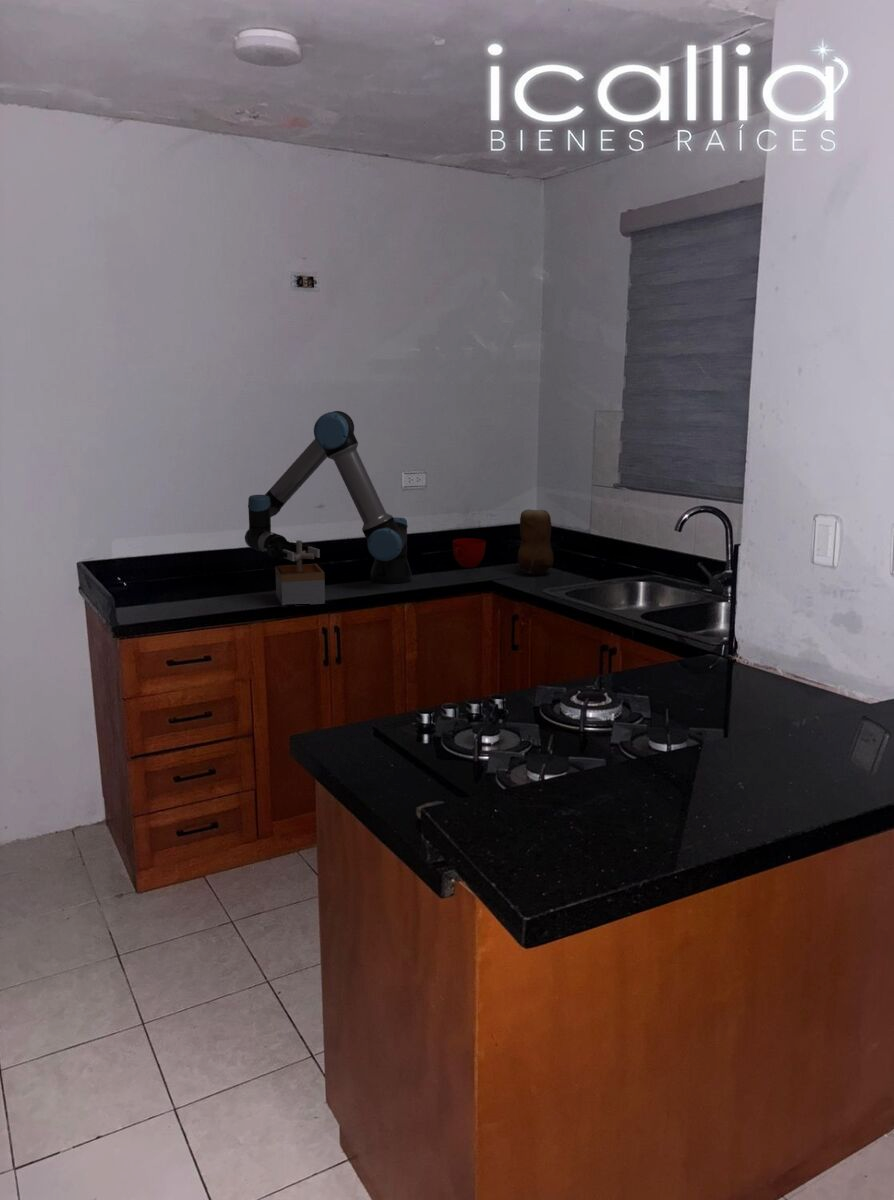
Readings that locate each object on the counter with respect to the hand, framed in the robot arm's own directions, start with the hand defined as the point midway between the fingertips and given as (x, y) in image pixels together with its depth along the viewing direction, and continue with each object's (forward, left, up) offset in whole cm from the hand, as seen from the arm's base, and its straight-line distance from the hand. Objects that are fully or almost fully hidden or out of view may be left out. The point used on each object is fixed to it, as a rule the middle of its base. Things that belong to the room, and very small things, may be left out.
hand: (306, 555), depth 306 cm
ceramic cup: (-69, -40, -16) cm, 82 cm away
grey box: (+2, -4, -16) cm, 17 cm away
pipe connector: (+2, -4, -6) cm, 8 cm away
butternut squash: (-90, -21, -16) cm, 94 cm away
